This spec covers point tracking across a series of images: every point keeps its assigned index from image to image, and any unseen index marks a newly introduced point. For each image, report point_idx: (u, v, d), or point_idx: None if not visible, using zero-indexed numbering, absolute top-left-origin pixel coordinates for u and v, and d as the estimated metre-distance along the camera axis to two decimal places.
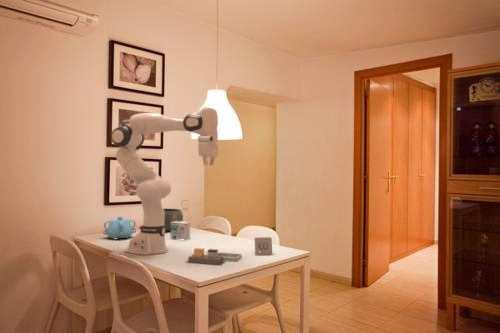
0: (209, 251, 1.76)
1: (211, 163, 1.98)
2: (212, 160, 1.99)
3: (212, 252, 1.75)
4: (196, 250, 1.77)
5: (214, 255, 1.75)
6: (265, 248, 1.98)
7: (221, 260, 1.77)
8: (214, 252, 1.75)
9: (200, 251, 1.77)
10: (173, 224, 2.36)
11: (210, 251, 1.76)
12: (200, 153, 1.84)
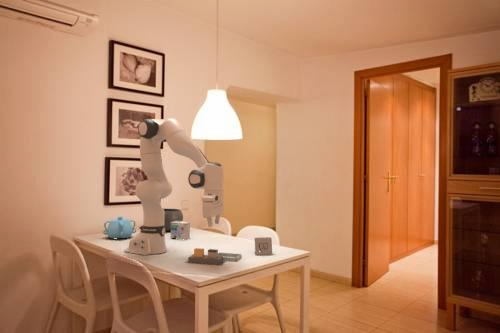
0: (209, 251, 1.76)
1: (216, 222, 1.80)
2: (217, 218, 1.81)
3: (212, 252, 1.75)
4: (196, 250, 1.77)
5: (214, 255, 1.75)
6: (265, 248, 1.98)
7: (221, 260, 1.77)
8: (214, 252, 1.75)
9: (200, 251, 1.77)
10: (173, 224, 2.36)
11: (210, 251, 1.76)
12: (204, 215, 1.67)
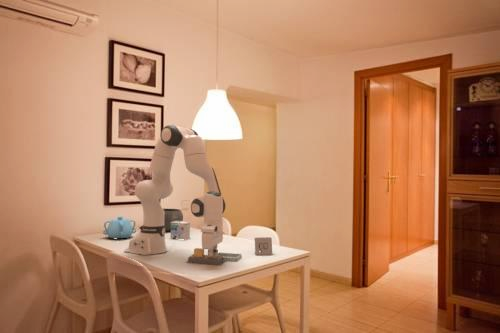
0: None
1: None
2: (215, 248, 1.79)
3: None
4: (196, 250, 1.77)
5: (214, 255, 1.75)
6: (265, 248, 1.98)
7: (221, 260, 1.77)
8: (214, 252, 1.75)
9: (200, 251, 1.77)
10: (173, 224, 2.36)
11: None
12: (204, 247, 1.67)
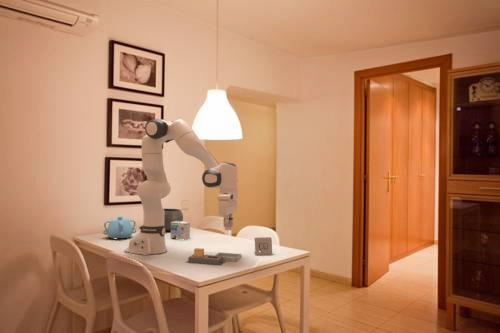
0: None
1: None
2: (230, 216, 1.87)
3: None
4: (196, 250, 1.77)
5: (230, 222, 1.83)
6: (265, 248, 1.98)
7: (221, 260, 1.77)
8: (230, 219, 1.83)
9: (200, 251, 1.77)
10: (173, 224, 2.36)
11: None
12: (220, 213, 1.75)
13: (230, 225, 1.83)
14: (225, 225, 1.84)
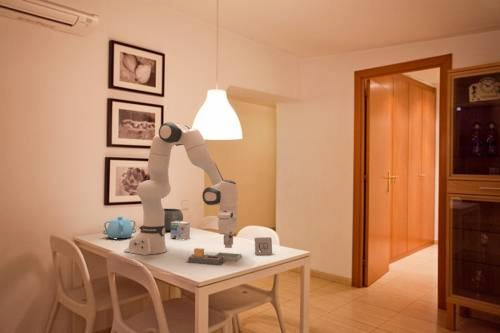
0: None
1: None
2: (230, 234, 1.87)
3: None
4: (196, 250, 1.77)
5: (230, 240, 1.83)
6: (265, 248, 1.98)
7: (221, 260, 1.77)
8: (230, 237, 1.83)
9: (200, 251, 1.77)
10: (173, 224, 2.36)
11: None
12: (220, 232, 1.75)
13: (230, 243, 1.83)
14: (225, 243, 1.84)
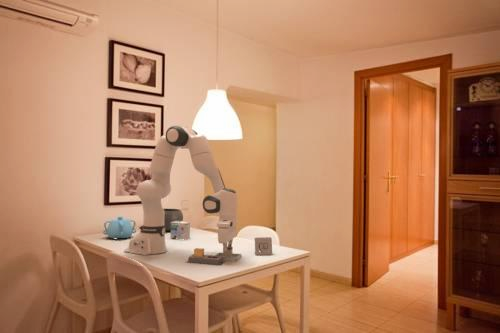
0: None
1: (229, 246, 1.88)
2: (230, 242, 1.89)
3: None
4: (196, 250, 1.77)
5: (229, 252, 1.83)
6: (265, 248, 1.98)
7: (221, 260, 1.77)
8: (229, 249, 1.83)
9: (200, 251, 1.77)
10: (173, 224, 2.36)
11: None
12: (220, 241, 1.75)
13: (229, 255, 1.83)
14: (224, 255, 1.84)
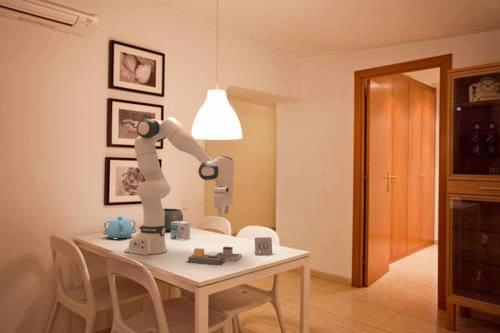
0: (224, 248, 1.84)
1: (226, 212, 1.93)
2: (227, 208, 1.94)
3: (227, 249, 1.84)
4: (196, 250, 1.77)
5: (229, 252, 1.83)
6: (265, 248, 1.98)
7: (221, 260, 1.77)
8: (229, 249, 1.83)
9: (200, 251, 1.77)
10: (173, 224, 2.36)
11: (225, 248, 1.84)
12: (215, 205, 1.79)
13: (229, 255, 1.83)
14: (224, 255, 1.84)
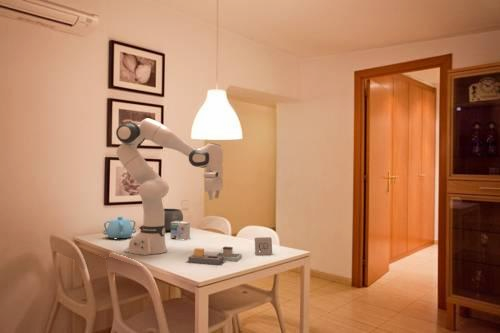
0: (224, 248, 1.84)
1: (216, 196, 2.04)
2: (217, 193, 2.05)
3: (227, 249, 1.84)
4: (196, 250, 1.77)
5: (229, 252, 1.83)
6: (265, 248, 1.98)
7: (221, 260, 1.77)
8: (229, 249, 1.83)
9: (200, 251, 1.77)
10: (173, 224, 2.36)
11: (225, 248, 1.84)
12: (206, 189, 1.90)
13: (229, 255, 1.83)
14: (224, 255, 1.84)
